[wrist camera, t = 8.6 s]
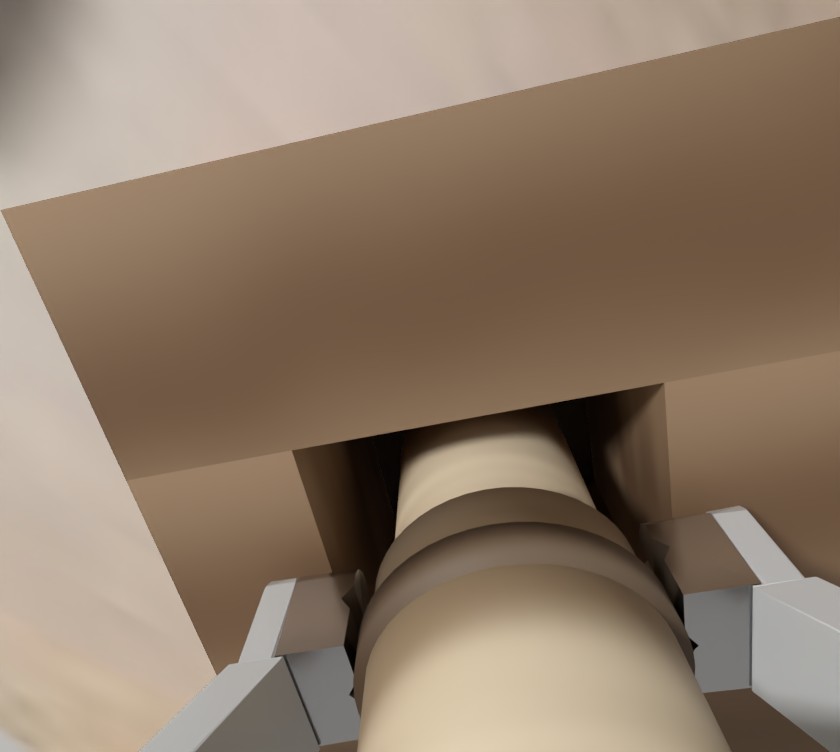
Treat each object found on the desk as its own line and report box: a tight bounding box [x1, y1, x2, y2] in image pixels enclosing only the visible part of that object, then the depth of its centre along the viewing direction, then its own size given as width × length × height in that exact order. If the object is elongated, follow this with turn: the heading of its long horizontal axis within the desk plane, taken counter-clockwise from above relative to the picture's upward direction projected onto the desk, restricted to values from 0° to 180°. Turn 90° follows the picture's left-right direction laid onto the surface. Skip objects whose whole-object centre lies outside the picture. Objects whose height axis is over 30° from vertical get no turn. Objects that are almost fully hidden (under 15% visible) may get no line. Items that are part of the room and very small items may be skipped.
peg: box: [353, 404, 732, 752], centre depth 9 cm, size 4×4×10 cm
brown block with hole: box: [1, 17, 840, 752], centre depth 13 cm, size 14×11×6 cm
